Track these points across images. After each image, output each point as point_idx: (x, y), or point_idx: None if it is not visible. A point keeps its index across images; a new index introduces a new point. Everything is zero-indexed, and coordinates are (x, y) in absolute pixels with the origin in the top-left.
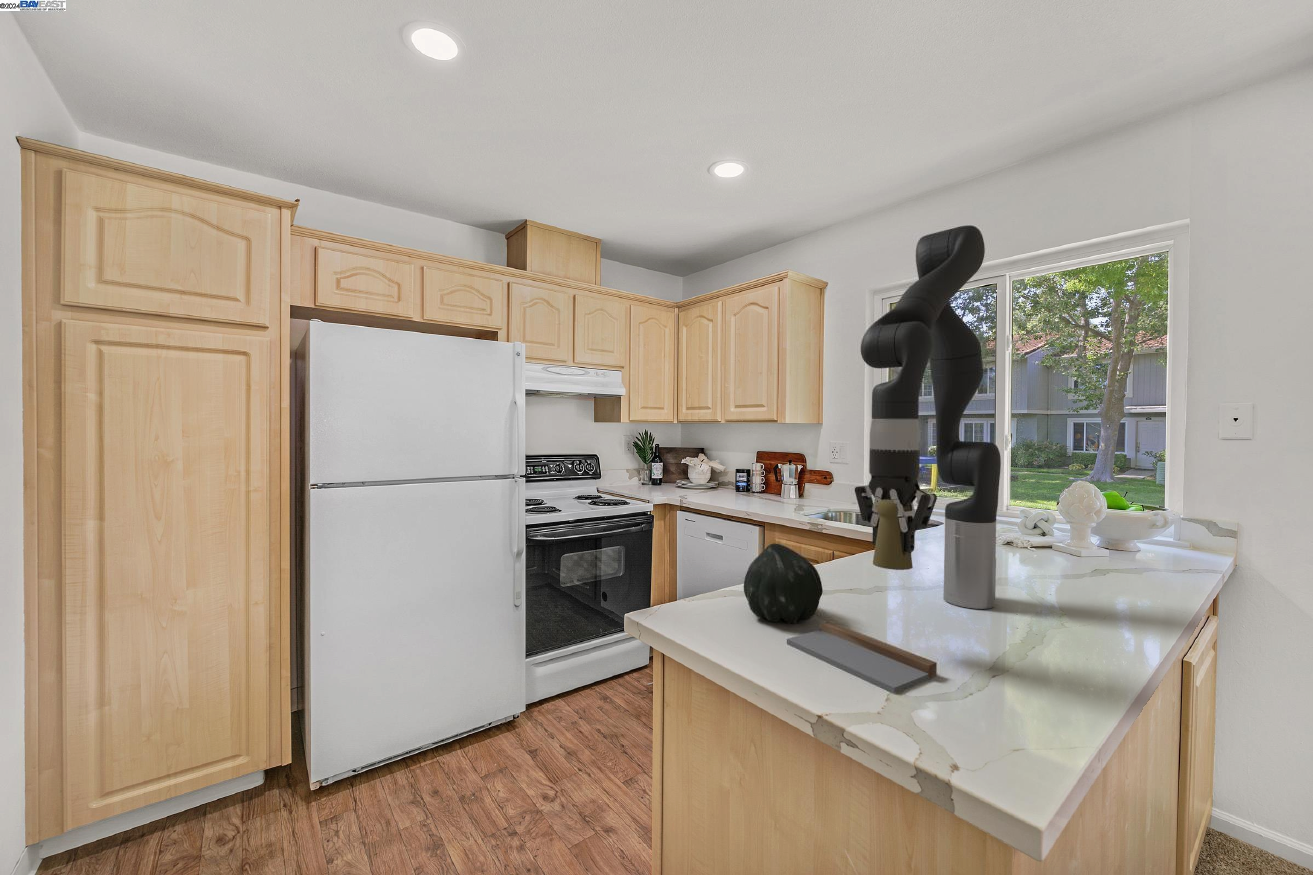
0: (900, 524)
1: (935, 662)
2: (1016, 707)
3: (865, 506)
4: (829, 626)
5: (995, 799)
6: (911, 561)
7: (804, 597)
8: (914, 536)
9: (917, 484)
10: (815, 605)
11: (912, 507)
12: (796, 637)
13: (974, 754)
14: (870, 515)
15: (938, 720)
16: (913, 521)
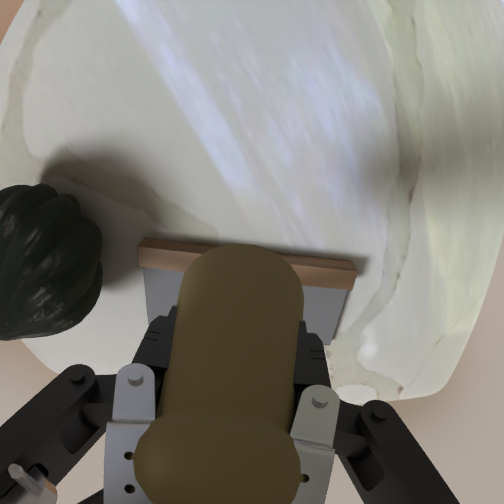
0: None
1: (355, 272)
2: (440, 268)
3: (76, 457)
4: (158, 268)
5: (423, 394)
6: (301, 299)
7: (91, 283)
8: (328, 377)
9: None
10: (100, 250)
11: (323, 489)
12: (150, 312)
13: (411, 369)
14: (104, 424)
15: (380, 350)
16: (349, 467)
